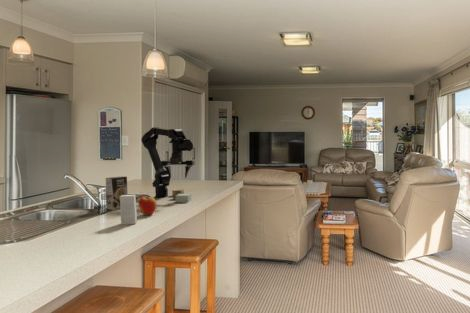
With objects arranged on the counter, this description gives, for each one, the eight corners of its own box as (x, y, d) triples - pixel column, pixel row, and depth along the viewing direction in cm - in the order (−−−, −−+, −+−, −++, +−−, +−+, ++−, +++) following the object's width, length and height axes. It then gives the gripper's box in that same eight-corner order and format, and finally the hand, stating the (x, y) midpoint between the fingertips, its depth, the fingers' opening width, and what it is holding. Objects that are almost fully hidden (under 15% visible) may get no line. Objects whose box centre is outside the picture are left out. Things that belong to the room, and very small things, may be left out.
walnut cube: (173, 199, 258) (172, 190, 258) (175, 198, 263) (175, 189, 263) (181, 199, 258) (181, 190, 257) (184, 198, 263) (183, 189, 262)
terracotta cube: (172, 196, 270) (172, 190, 270) (172, 195, 274) (172, 189, 274) (179, 196, 270) (178, 189, 270) (179, 195, 274) (179, 188, 274)
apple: (157, 212, 215) (157, 192, 215) (155, 216, 207) (154, 194, 207) (140, 213, 215) (139, 192, 215) (137, 216, 207) (136, 194, 207)
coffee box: (114, 210, 227) (112, 178, 226) (106, 209, 231) (104, 177, 230) (128, 207, 234) (127, 176, 234) (120, 206, 238) (119, 175, 237)
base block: (175, 203, 246) (175, 195, 245) (178, 201, 253) (178, 193, 252) (188, 202, 245) (187, 195, 245) (191, 200, 252) (190, 193, 251)
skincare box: (137, 222, 194) (135, 194, 193) (135, 224, 190) (134, 195, 189) (122, 222, 194) (121, 195, 193) (120, 224, 190) (119, 196, 189)
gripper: (156, 152, 253) (158, 179, 253) (189, 151, 250) (190, 179, 251) (163, 151, 264) (164, 177, 264) (194, 150, 261) (195, 177, 262)
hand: (178, 178), depth 260 cm, fingers open, 9 cm apart
